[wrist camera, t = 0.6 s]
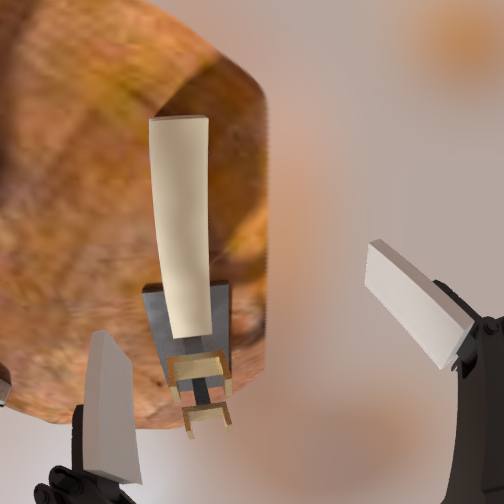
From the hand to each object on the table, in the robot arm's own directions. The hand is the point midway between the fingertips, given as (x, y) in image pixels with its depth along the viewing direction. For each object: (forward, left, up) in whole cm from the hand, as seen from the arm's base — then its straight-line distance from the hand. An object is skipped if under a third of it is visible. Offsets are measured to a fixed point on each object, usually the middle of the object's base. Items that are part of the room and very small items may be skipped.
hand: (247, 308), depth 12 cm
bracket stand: (-2, -27, -22) cm, 35 cm away
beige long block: (-2, -2, -16) cm, 16 cm away
